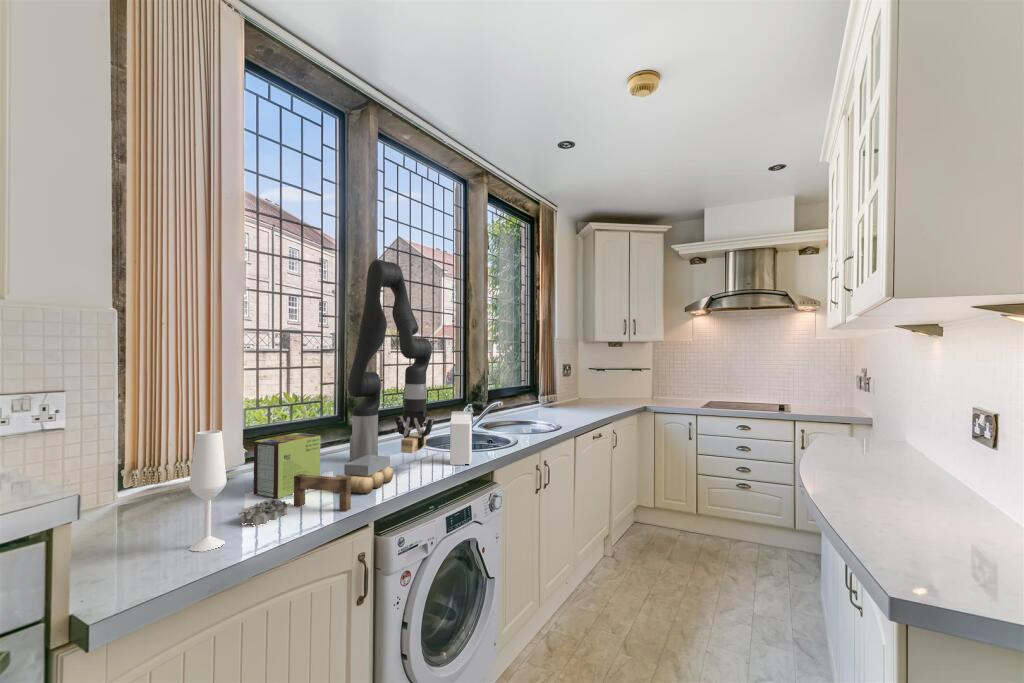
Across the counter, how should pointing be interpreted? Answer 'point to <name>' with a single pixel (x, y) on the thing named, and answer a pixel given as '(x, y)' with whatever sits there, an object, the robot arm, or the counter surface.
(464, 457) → the milk carton
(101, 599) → the counter surface
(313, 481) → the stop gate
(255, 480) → the protein box
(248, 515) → the egg carton
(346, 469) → the slab
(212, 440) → the champagne flute
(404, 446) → the oak skid
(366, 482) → the roller bed
